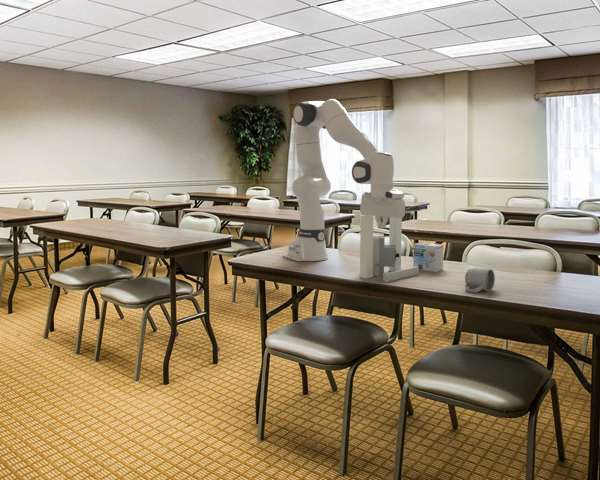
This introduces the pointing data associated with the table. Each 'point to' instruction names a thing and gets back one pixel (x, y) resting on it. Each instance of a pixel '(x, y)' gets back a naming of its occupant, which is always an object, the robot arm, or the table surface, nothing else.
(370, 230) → the post
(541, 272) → the table surface
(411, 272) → the bar
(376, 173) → the robot arm
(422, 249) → the light bulb box
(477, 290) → the ceramic mug
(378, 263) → the circuit breaker
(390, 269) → the post
